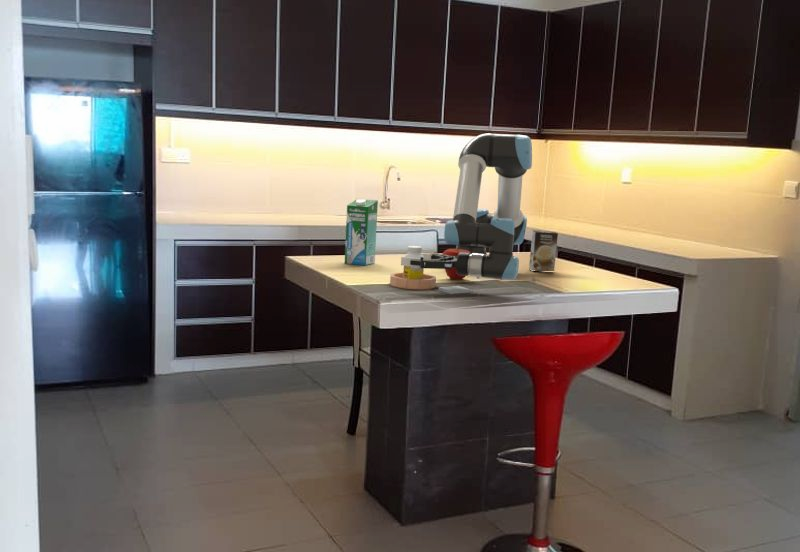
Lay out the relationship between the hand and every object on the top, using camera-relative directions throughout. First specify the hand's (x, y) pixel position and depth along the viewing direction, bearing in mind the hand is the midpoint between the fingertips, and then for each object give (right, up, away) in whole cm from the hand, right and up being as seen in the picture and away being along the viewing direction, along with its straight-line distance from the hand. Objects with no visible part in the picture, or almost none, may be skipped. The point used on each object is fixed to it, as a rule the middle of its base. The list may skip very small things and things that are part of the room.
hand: (406, 258), depth 255 cm
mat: (+15, -11, -6) cm, 20 cm away
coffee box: (+54, -4, +54) cm, 77 cm away
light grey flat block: (+15, -11, -7) cm, 20 cm away
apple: (+18, -8, +20) cm, 28 cm away
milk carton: (-18, -1, +48) cm, 52 cm away
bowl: (+2, -9, +1) cm, 10 cm away
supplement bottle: (+2, -9, +1) cm, 9 cm away
